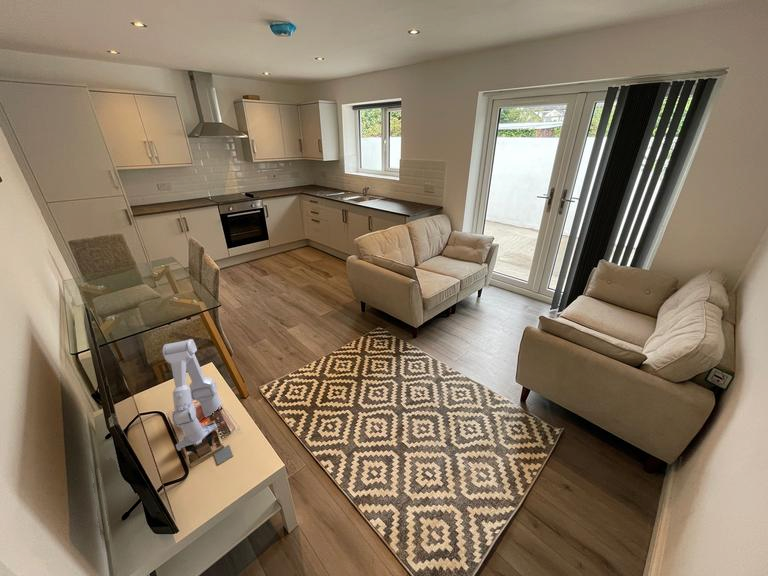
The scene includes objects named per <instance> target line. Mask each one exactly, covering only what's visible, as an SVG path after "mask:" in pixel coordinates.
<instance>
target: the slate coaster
mask: <svg viewBox="0 0 768 576" xmlns="http://www.w3.org/2000/svg"><path fill="white" fill-rule="evenodd" d="M213 456H214V458H215V461H216V465H217V466H220V465H221V464H223V463H224V462H225V461H227V460H229V459H231V458H232V457H234V455H233V452H232V449H231V446H230V444H227V445H225V446H224V448H222V449H221V450H219V451H217V452H216V453H214V454H213Z"/></svg>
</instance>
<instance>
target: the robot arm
mask: <svg viewBox="0 0 768 576" xmlns="http://www.w3.org/2000/svg"><path fill="white" fill-rule="evenodd" d="M161 351H162V356H163V358H164V360H165V361H166V362H167V363H168V364H170V367H171V371H172V372H171V373H172V376H173V382H174V386H175V388H174V389H173V391H172V399H173V409H174V411H172V416H171V417H172V422H173V425H174V426H176V427H178V428H181V430H182V432H183V434H184V433H185V435H186V436H187V437H185V438H184V439H183V440H182V439H181V441H179V442H178V443H176V444H175V448H176V450H177V451H178V452H179V451H181V450H182V448H184V447H185V450H186V451H187V452H188V453H189V452H191V453H193V454H195V455H199V454H198V453H197V451H196V448H195V445H194V444H196V445H198V444H200V443H201V442H202V439H204V438H205V437H206V438H207V440H208V442H209V444H210V446H211V447H213V438H214V434H213V431H215V432H216V430H218V431H219V429H218V426H217V423H216V424H213V425H210V426H207V427H203V426H202V425H201V422H200V421H199V419H198V416H197V409H196V406H195V403H194V402H193V401H196V402H198V403H199V404H200V407H201V410H202V414H203V416H204V418H207V417H209V416H211V415H213V414H215V413H214V411H216V410H217V409H218V407H219V406H220V405H221V406H222V408H223V409H224V406H223V404H222V401H221V399H220V397H219V395H218V394H217V393H218V385H217V383H216V382H215V380H214V379H213V377H208V376H205V375H204V372H203V370H202V367H201V365H200V363H199V361H198V358H197V356H196V354H195V353H196V352H197V351H198V347H197V345H196V343H195V340H194V339H193V338H192V339H191V338H189V339H186V340H182V341H175V342H171V343H165V344H163V346H162V350H161ZM187 375H188V376H189V378H190V380H191V383H189V386H188V384H187ZM212 413H213V414H212ZM202 427H203V428H202ZM185 450H184V451H185Z"/></svg>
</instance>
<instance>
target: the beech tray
mask: <svg viewBox="0 0 768 576" xmlns="http://www.w3.org/2000/svg"><path fill="white" fill-rule="evenodd" d="M213 424H216V425H217V423H216V421H215V420H212V421H211V422H209V423H206V424H205V425H203V426H202V428H203V427H207V426H210V425H213ZM218 431H219V429H218V430H216V431H215V432H216V433H217V437H218V440H219V443H220V446H218V447H217V448H215V449H212V451H211V452H210V453H208V454H206V455H204V456H203V457H200V458H197V459H196V460H194V461H192V462H191V460H189V459H190V457H189V456H188V455H189V453H188V454H187V451H186V450H185V447H183V449H184V454H185V458H186V462H187V466H188V468H189V469H191V468H192V466H193V467H194V466H197V465H198V464H199V463H201V462H202V461H205V460H206V459H208V458H210V457H212V456H214V453H216V452H217V451H219V450H221V449H222V448H224V447H225V446H224V443H223V441H222V438H221V435H220V432H218ZM184 438H185V436H184V435H183V436H182V437H181V441H182V440H183V439H184Z"/></svg>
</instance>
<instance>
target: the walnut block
mask: <svg viewBox="0 0 768 576" xmlns="http://www.w3.org/2000/svg"><path fill="white" fill-rule="evenodd" d="M194 446H195V448H196V451H197V453H198V454H197V455H199V457H200V458H201V457H203V456H204V455H206V454H208V453H210V452H211V451H213V449H212V446H210V444H209V442H208V440H207V438H206V437H205V438H204V439H202V442H201V443H200V444H198V445H196V444H194Z"/></svg>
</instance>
